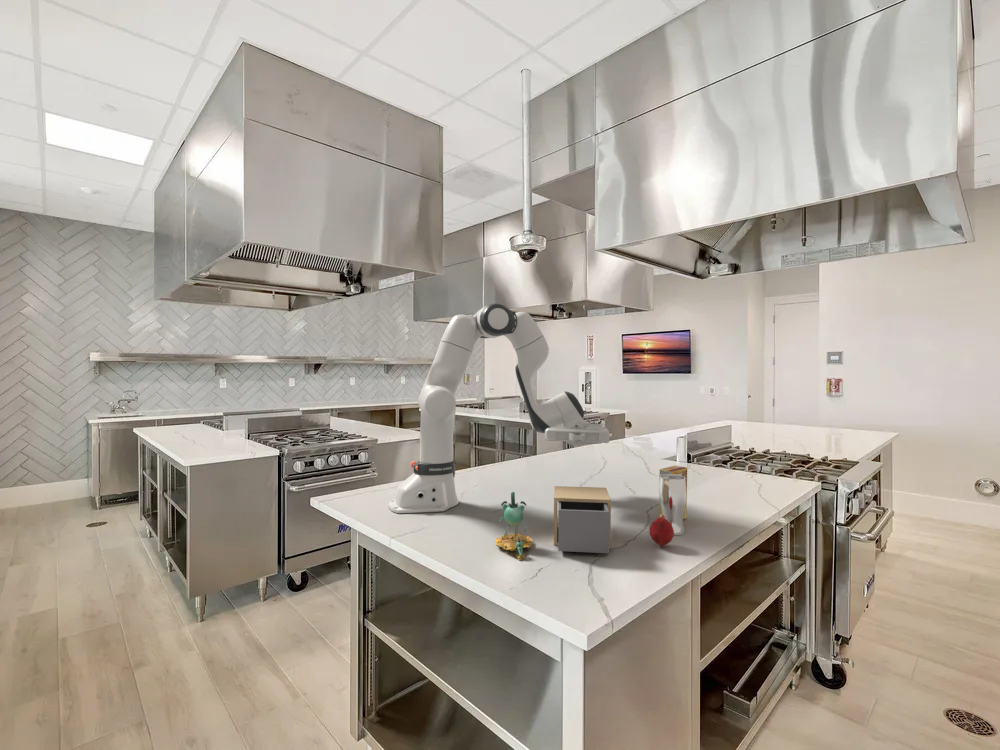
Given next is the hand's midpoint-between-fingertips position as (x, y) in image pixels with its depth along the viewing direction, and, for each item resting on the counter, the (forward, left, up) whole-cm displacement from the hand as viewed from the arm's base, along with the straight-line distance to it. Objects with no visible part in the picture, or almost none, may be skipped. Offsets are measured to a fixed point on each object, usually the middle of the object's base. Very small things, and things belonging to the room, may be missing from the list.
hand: (577, 438), depth 143 cm
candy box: (+24, -14, -24) cm, 36 cm away
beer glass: (+17, -22, -24) cm, 36 cm away
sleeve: (-9, -18, -23) cm, 31 cm away
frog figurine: (-28, -17, -24) cm, 40 cm away
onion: (+7, -30, -24) cm, 39 cm away
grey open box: (-10, -20, -22) cm, 31 cm away
